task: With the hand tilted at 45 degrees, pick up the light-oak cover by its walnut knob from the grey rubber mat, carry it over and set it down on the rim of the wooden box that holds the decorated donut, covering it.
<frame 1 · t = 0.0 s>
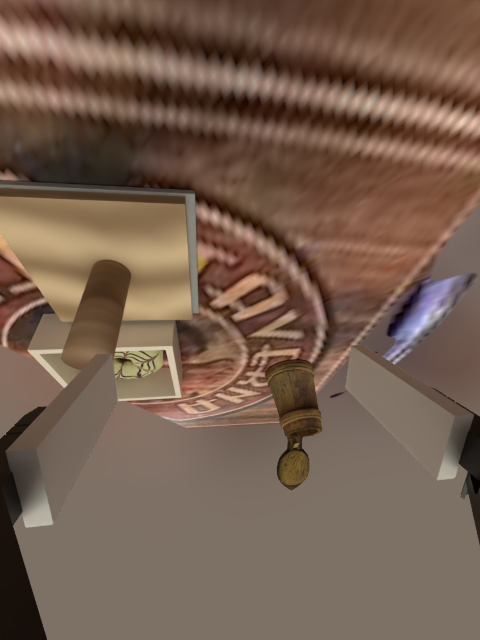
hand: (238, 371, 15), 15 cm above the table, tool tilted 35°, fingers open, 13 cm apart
wooden box: (125, 346, 38), on the table
oak cover: (114, 265, 26), point 1 cm above the table, touching rubber mat
decorated donut: (126, 343, 39), on the table
wooden mug: (284, 375, 52), on the table
rubber mat: (115, 261, 27), on the table
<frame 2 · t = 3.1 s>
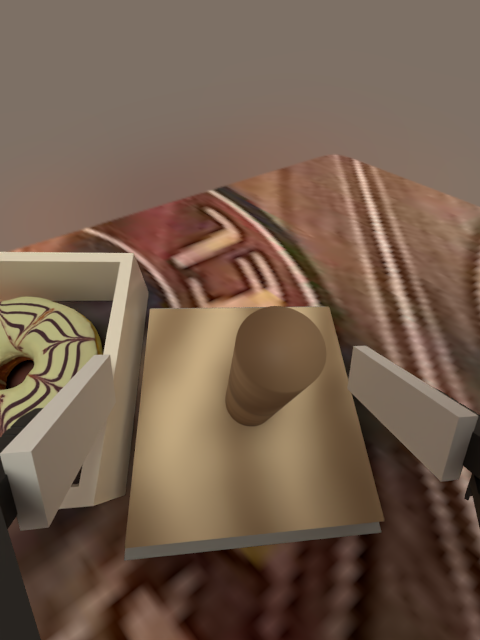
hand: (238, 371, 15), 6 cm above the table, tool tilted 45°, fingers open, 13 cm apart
wooden box: (30, 380, 19), on the table
oak cover: (248, 403, 19), point 1 cm above the table, touching rubber mat
decorated donut: (34, 381, 20), on the table
rubber mat: (247, 404, 20), on the table
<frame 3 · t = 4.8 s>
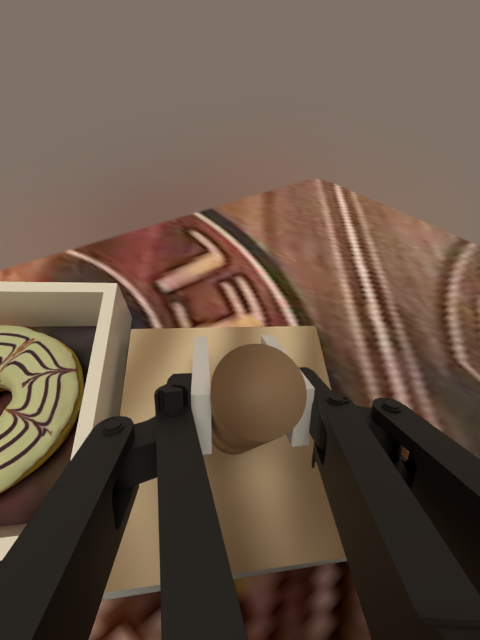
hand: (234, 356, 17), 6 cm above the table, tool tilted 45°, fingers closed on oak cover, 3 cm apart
wooden box: (8, 410, 19), on the table
oak cover: (232, 428, 19), point 2 cm above the table, touching gripper
decorated donut: (12, 412, 19), on the table
rubber mat: (229, 432, 20), on the table
when the fingers open (9 cm above the table, at t = 8.0 s): oak cover stays where it is, resting on wooden box.
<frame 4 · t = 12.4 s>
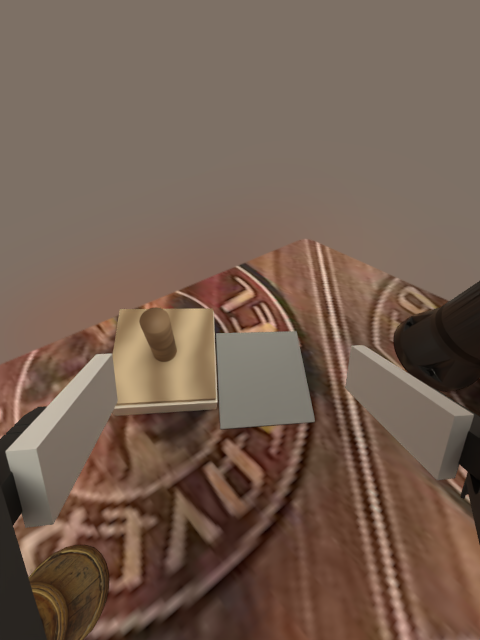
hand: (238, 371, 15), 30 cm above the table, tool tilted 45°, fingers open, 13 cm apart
wooden box: (169, 365, 45), on the table
oak cover: (166, 354, 40), point 5 cm above the table, touching wooden box
wooden mug: (47, 593, 30), on the table
rubber mat: (261, 375, 46), on the table
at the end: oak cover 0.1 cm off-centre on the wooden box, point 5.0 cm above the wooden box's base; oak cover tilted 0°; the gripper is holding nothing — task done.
